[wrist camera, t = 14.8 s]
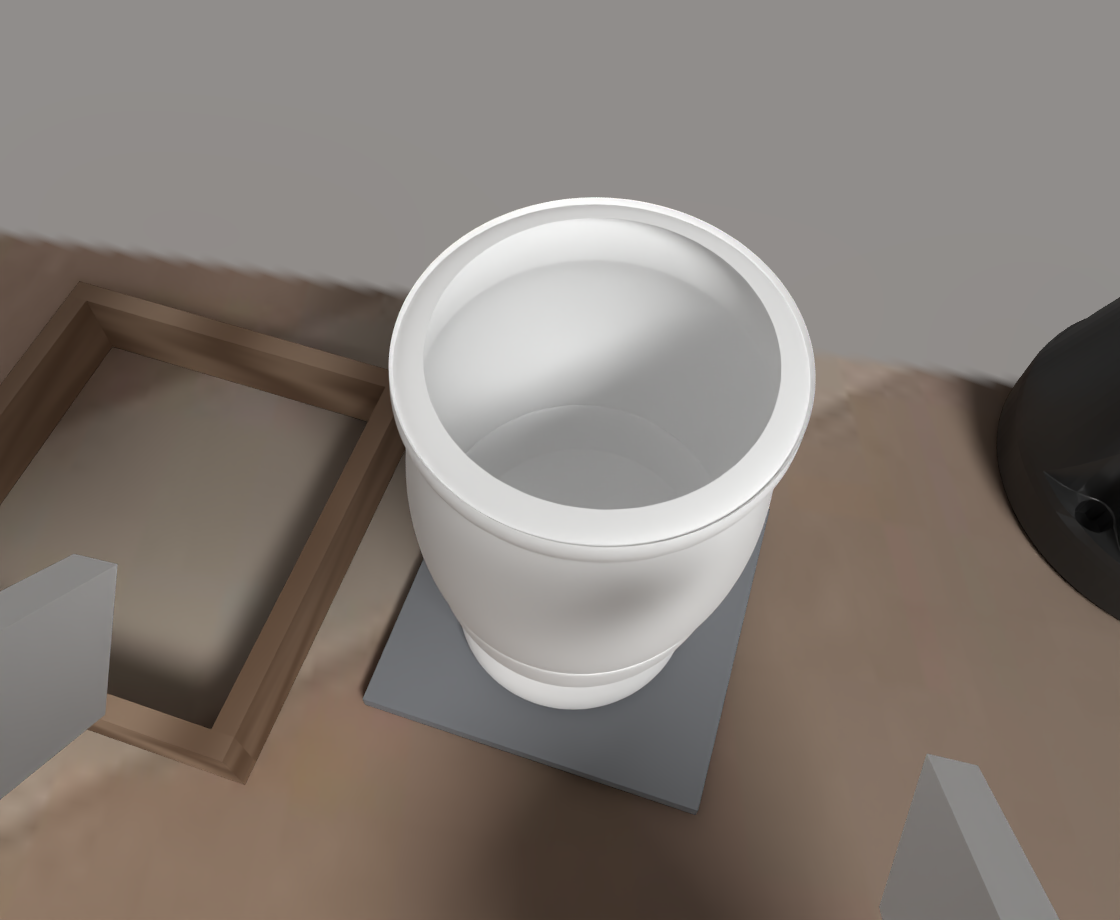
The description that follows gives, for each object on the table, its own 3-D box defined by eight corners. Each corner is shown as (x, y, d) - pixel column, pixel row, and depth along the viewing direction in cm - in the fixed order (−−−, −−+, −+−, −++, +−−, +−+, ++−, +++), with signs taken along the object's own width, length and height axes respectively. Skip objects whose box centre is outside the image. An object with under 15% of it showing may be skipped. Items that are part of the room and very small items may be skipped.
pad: (766, 516, 39) (769, 508, 39) (695, 814, 33) (697, 810, 33) (482, 433, 41) (481, 425, 40) (364, 704, 35) (362, 698, 34)
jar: (506, 439, 40) (502, 147, 27) (749, 534, 38) (867, 268, 25) (379, 670, 35) (298, 442, 22) (653, 793, 33) (738, 622, 20)
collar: (419, 419, 41) (412, 376, 39) (244, 784, 33) (222, 761, 31) (105, 327, 43) (79, 281, 41) (-130, 653, 35) (-180, 621, 33)
